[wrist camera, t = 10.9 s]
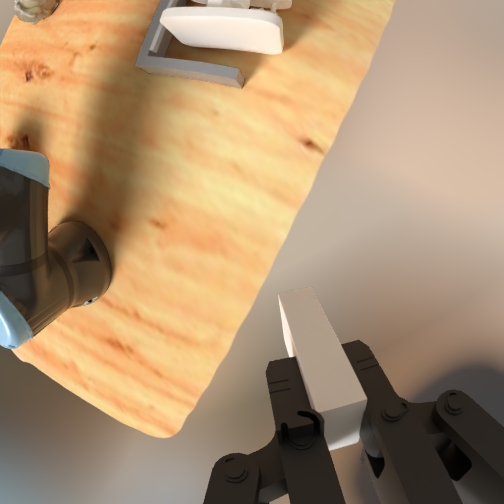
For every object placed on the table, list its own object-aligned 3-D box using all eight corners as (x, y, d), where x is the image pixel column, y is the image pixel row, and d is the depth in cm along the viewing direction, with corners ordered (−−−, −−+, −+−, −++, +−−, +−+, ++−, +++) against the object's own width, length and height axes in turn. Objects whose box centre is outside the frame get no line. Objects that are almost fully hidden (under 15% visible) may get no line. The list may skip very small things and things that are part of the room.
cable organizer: (180, 49, 36) (147, 19, 25) (197, -6, 32) (172, -43, 21) (282, 59, 35) (278, 24, 24) (294, 2, 32) (294, -41, 20)
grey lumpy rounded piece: (55, 24, 37) (23, 27, 29) (31, 22, 35) (0, 26, 27) (69, -15, 31) (38, -18, 23) (44, -15, 30) (13, -16, 22)
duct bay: (149, 73, 37) (134, 65, 32) (193, -31, 31) (184, -46, 26) (241, 88, 37) (235, 79, 32) (281, -23, 30) (279, -40, 25)
